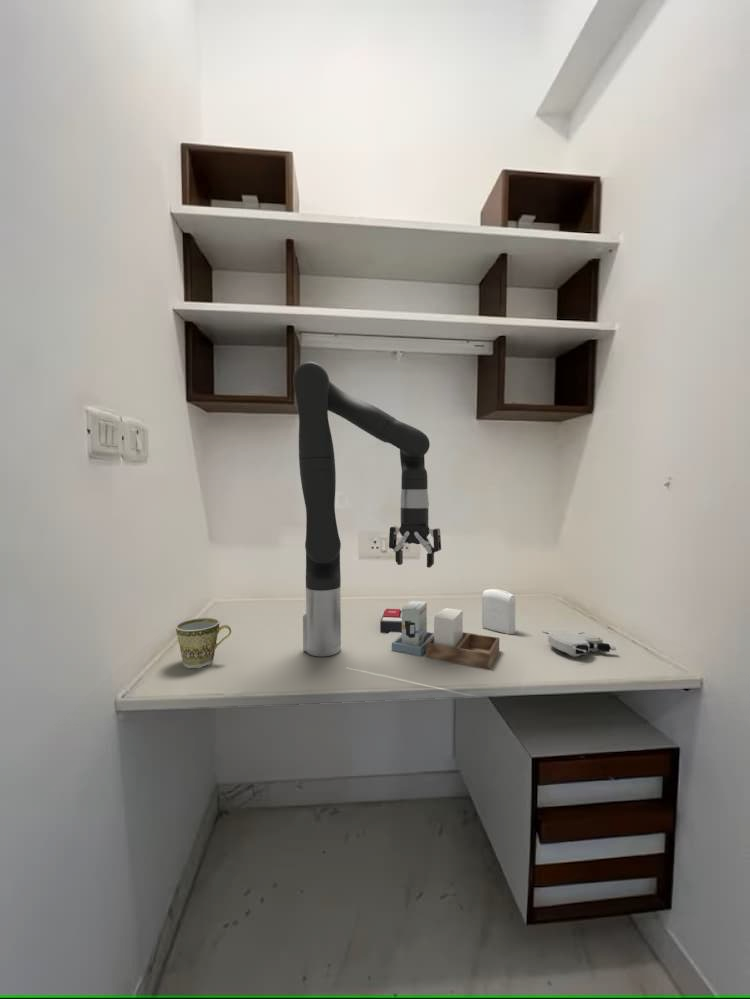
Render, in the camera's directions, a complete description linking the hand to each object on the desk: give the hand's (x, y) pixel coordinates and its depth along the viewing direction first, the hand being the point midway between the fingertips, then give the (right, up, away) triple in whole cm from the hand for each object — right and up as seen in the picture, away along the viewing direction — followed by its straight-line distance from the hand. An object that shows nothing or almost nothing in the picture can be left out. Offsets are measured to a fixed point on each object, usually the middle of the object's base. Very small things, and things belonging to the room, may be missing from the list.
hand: (414, 565), depth 115 cm
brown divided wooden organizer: (+12, -23, -5) cm, 26 cm away
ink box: (0, -23, +1) cm, 23 cm away
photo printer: (+27, -22, +14) cm, 38 cm away
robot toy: (+43, -23, -2) cm, 49 cm away
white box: (+9, -22, -4) cm, 24 cm away
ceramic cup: (-53, -23, -10) cm, 59 cm away
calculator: (-3, -22, +19) cm, 29 cm away
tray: (0, -22, +1) cm, 22 cm away
